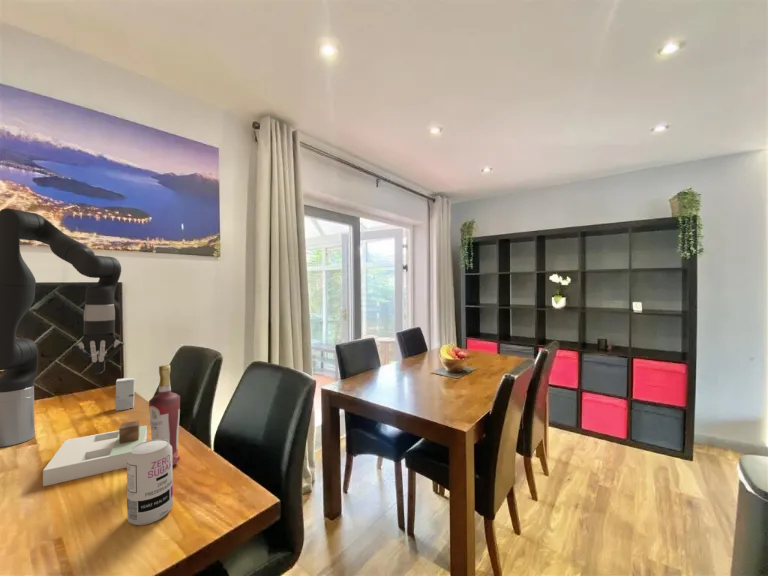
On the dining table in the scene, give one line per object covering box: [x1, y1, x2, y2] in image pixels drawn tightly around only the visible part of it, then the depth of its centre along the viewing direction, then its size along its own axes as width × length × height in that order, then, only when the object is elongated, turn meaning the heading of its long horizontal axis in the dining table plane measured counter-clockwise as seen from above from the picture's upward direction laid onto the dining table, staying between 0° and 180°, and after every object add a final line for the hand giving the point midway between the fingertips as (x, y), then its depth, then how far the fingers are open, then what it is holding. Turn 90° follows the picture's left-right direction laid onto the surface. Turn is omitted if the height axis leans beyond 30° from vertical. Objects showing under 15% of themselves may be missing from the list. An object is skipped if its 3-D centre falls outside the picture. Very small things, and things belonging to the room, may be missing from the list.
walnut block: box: [118, 420, 140, 444], centre depth 102 cm, size 4×4×4 cm
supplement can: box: [126, 439, 174, 526], centre depth 74 cm, size 8×8×15 cm
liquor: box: [148, 364, 181, 468], centre depth 93 cm, size 7×7×28 cm
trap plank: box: [42, 425, 148, 487], centre depth 98 cm, size 20×20×4 cm
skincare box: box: [114, 377, 135, 412], centre depth 139 cm, size 6×4×12 cm
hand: (98, 373), depth 106 cm, fingers closed
